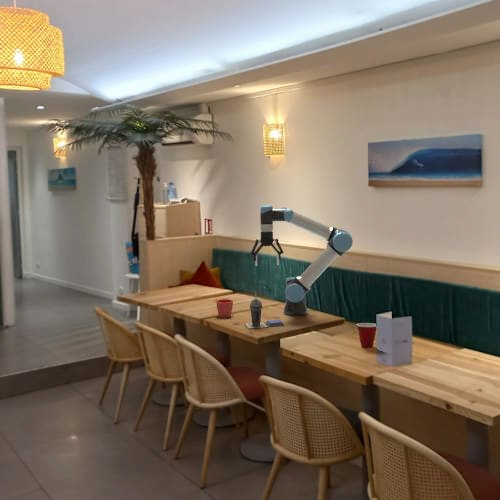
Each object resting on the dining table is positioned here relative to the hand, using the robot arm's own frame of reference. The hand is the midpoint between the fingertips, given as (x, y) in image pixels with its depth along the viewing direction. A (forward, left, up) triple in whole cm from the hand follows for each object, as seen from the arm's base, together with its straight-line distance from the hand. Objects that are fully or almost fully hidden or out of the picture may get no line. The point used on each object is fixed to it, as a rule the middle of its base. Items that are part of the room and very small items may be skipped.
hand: (267, 265), depth 388 cm
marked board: (+12, +20, -33) cm, 40 cm away
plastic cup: (-34, +78, -33) cm, 91 cm away
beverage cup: (+12, +20, -32) cm, 40 cm away
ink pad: (0, +19, -33) cm, 38 cm away
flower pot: (+25, -12, -33) cm, 43 cm away
